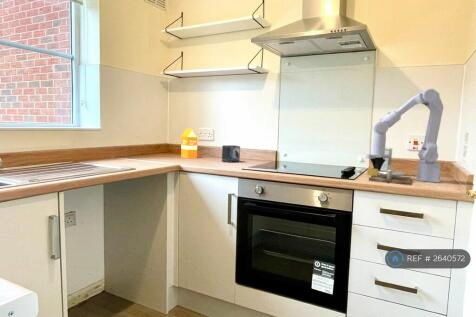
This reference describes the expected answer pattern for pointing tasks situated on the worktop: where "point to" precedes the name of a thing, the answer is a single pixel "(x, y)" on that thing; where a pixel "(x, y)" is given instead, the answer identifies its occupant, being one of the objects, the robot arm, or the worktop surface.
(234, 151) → the small box
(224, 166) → the worktop surface
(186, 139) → the orange juice
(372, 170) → the small silver pan
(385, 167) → the syrup box
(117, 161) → the worktop surface
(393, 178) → the post board
